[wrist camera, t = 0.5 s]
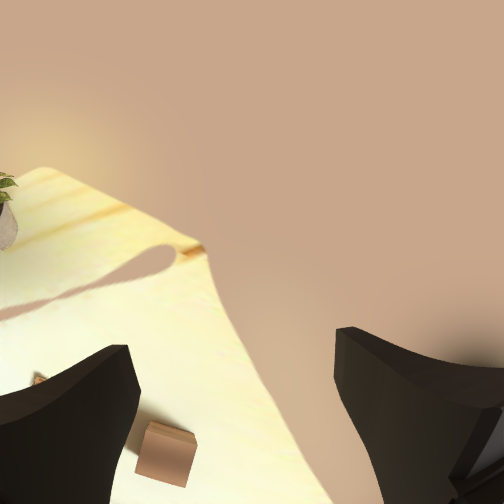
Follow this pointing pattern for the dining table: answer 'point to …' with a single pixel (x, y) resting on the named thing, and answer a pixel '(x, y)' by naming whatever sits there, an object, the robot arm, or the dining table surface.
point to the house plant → (6, 215)
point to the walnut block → (166, 454)
